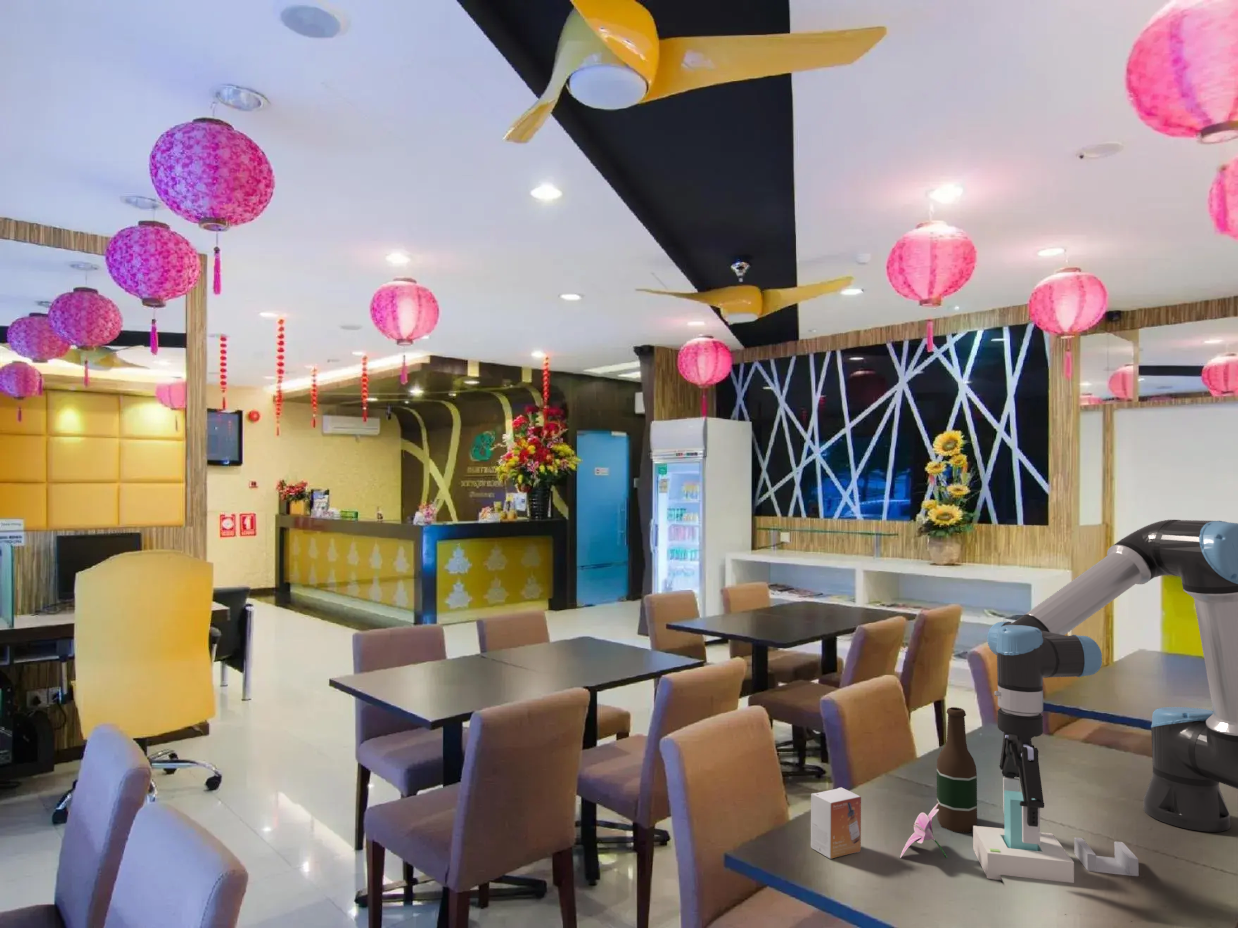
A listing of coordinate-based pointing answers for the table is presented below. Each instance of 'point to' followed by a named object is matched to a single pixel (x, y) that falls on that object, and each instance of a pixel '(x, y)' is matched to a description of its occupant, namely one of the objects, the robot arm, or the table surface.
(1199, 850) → the table surface
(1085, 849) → the holster
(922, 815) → the lily
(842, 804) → the small box
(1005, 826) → the plug
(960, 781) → the beer bottle
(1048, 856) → the port
